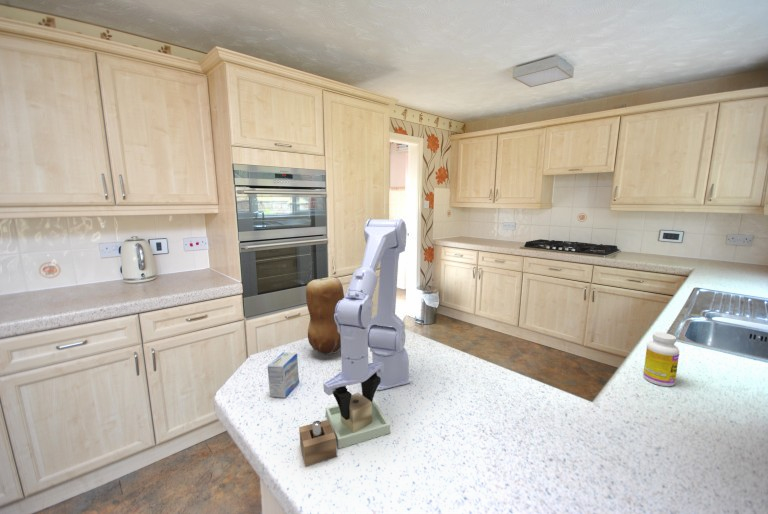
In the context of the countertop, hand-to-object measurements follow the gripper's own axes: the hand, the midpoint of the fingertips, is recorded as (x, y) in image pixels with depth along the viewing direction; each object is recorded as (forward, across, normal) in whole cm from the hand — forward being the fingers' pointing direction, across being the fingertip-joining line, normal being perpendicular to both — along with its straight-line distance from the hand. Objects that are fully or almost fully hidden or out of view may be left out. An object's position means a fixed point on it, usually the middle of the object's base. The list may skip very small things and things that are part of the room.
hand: (356, 411), depth 73 cm
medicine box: (+3, +6, -24) cm, 25 cm away
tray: (+3, 0, 0) cm, 3 cm away
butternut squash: (+3, -14, -35) cm, 38 cm away
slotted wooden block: (+3, +10, +2) cm, 11 cm away
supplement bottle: (+3, -72, +39) cm, 82 cm away
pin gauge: (+3, +10, +2) cm, 11 cm away
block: (+3, 0, 0) cm, 3 cm away
